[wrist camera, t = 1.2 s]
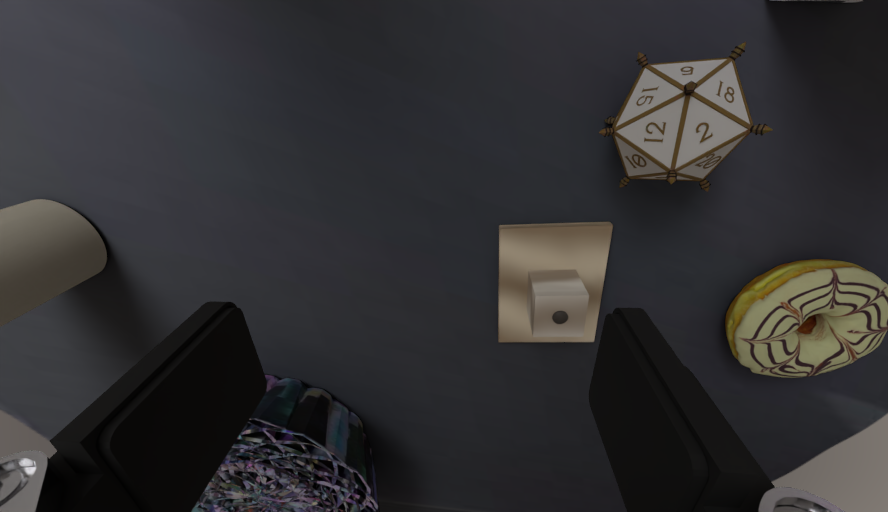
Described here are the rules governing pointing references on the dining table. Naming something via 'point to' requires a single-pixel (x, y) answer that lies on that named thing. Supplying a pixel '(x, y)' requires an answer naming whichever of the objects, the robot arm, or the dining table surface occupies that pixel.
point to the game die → (681, 119)
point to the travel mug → (44, 254)
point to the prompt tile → (549, 256)
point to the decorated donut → (807, 318)
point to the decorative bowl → (296, 458)
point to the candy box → (840, 0)
